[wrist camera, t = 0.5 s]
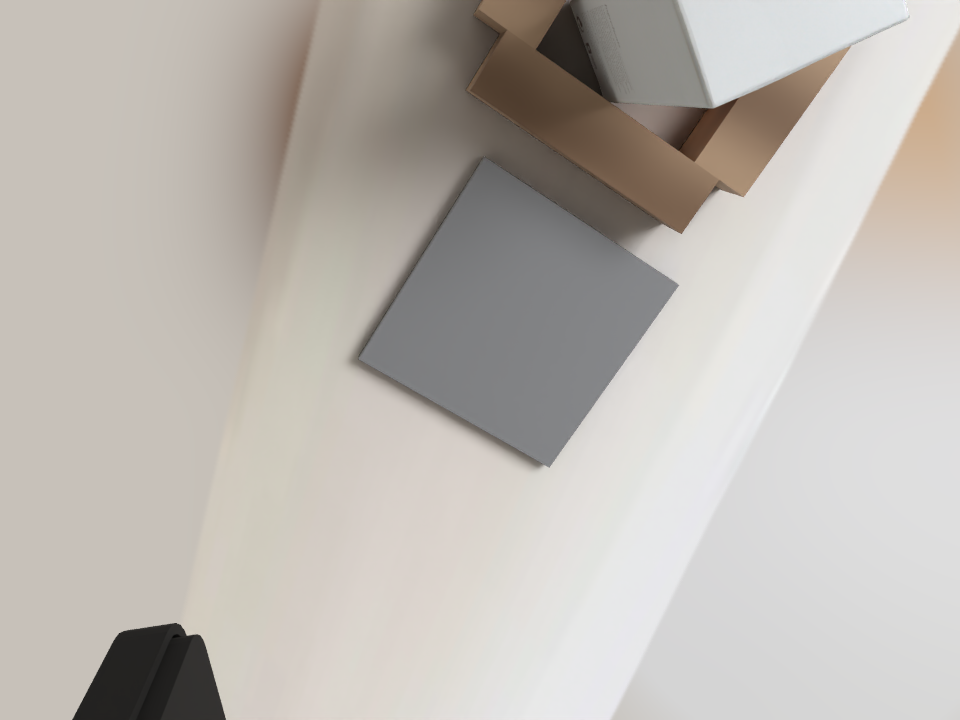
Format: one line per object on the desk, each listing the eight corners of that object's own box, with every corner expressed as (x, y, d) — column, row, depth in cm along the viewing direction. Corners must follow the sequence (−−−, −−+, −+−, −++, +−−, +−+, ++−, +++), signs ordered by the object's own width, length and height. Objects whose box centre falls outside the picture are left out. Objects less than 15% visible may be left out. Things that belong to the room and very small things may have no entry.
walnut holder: (622, -235, 30) (640, -263, 28) (872, -26, 33) (908, -35, 31) (439, 72, 33) (441, 71, 30) (685, 239, 36) (705, 250, 33)
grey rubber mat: (483, 156, 34) (484, 157, 34) (675, 282, 36) (678, 285, 36) (358, 355, 36) (358, 359, 36) (547, 462, 39) (549, 467, 38)
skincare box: (604, 106, 34) (705, 115, 22) (566, 1, 32) (653, -46, 21) (743, 43, 34) (917, 20, 22) (710, -65, 32) (878, -149, 21)
